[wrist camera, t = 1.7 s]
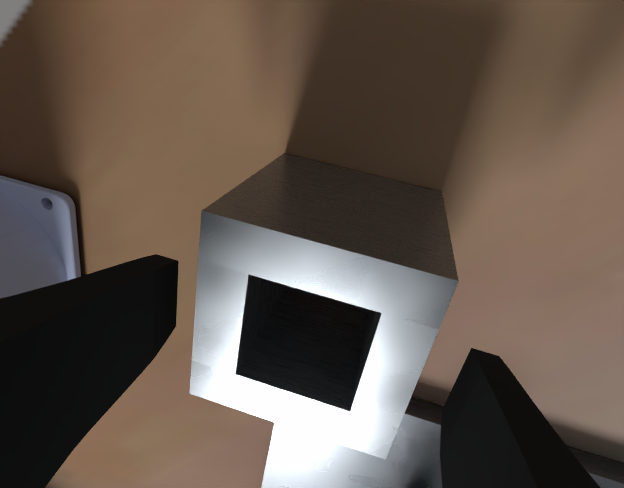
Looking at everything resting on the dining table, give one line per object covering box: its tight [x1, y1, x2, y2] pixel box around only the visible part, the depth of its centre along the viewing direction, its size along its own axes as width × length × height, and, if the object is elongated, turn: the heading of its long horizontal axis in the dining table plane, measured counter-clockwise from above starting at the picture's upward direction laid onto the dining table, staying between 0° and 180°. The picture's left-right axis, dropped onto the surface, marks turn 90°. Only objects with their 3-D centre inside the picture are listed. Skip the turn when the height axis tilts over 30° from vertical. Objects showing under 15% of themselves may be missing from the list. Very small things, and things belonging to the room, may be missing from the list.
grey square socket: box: [190, 153, 458, 460], centre depth 12 cm, size 5×5×6 cm
